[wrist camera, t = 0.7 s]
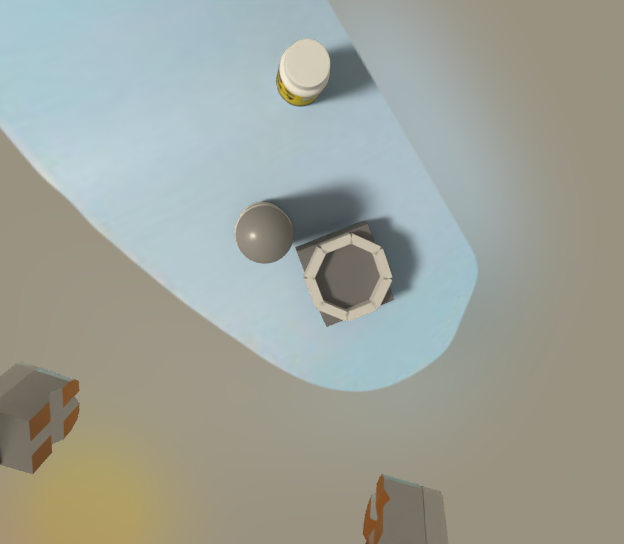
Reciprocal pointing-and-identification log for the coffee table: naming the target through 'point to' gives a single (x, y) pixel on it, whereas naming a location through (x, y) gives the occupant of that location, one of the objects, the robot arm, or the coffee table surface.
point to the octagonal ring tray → (346, 273)
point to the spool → (263, 232)
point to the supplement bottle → (303, 72)
